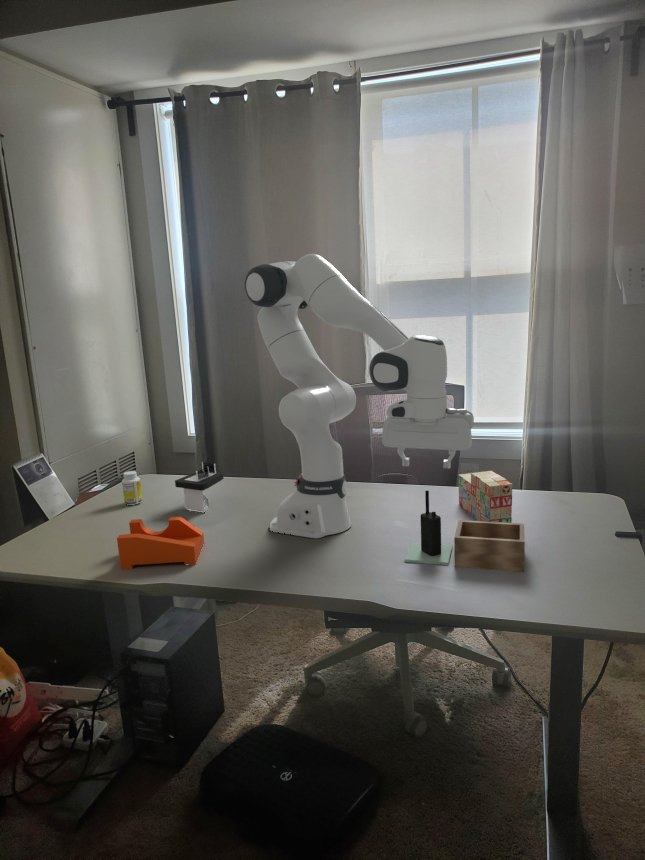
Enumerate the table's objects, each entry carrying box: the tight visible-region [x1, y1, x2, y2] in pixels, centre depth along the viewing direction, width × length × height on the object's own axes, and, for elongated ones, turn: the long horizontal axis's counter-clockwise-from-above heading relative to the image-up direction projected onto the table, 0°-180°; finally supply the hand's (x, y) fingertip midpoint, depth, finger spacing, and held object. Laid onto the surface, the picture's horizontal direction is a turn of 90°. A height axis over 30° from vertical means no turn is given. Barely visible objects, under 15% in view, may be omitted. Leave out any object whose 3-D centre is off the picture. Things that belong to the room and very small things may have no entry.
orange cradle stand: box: [116, 516, 205, 570], centre depth 154 cm, size 18×13×8 cm
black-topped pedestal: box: [174, 461, 225, 513], centre depth 188 cm, size 28×26×13 cm
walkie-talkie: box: [420, 490, 442, 556], centre depth 145 cm, size 5×3×15 cm
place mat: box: [404, 542, 453, 566], centre depth 147 cm, size 10×10×1 cm
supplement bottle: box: [121, 470, 143, 506], centre depth 196 cm, size 6×6×10 cm
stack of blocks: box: [457, 470, 513, 523], centre depth 169 cm, size 21×6×12 cm, turn 10°
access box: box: [453, 519, 526, 573], centre depth 142 cm, size 15×11×7 cm
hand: (426, 466), depth 142 cm, fingers open, 8 cm apart
